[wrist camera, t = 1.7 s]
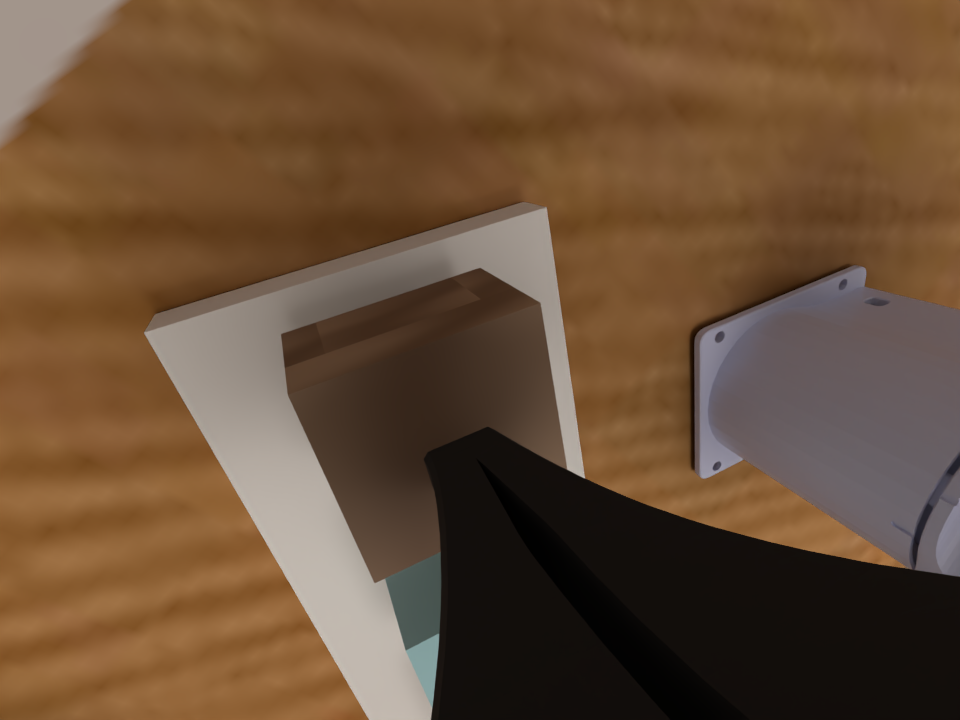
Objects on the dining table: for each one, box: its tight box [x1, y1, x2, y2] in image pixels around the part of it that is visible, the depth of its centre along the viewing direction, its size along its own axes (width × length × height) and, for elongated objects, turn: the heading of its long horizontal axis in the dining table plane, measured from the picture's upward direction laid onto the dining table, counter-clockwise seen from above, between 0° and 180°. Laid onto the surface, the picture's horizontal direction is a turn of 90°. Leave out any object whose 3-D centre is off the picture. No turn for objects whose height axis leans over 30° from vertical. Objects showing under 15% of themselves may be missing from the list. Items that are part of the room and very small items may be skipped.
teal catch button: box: [385, 552, 441, 707], centre depth 15 cm, size 5×5×3 cm
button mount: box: [144, 202, 585, 720], centre depth 18 cm, size 11×21×4 cm, turn 10°
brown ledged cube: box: [281, 268, 567, 583], centre depth 12 cm, size 5×5×3 cm
